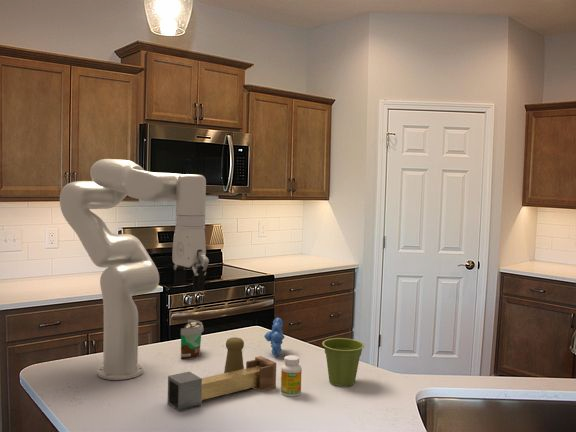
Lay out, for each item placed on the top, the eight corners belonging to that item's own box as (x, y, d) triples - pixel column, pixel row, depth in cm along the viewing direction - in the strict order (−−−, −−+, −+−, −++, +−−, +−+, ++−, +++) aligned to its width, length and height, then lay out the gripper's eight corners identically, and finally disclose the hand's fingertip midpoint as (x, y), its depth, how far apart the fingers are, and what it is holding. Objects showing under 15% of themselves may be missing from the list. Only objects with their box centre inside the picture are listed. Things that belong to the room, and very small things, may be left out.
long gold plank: (182, 398, 143) (182, 381, 143) (259, 379, 158) (259, 364, 158) (190, 403, 140) (190, 386, 140) (268, 384, 155) (268, 369, 155)
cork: (241, 380, 160) (242, 341, 160) (220, 378, 161) (221, 340, 161) (247, 373, 166) (247, 336, 166) (227, 371, 167) (228, 334, 167)
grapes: (265, 348, 191) (266, 313, 191) (285, 349, 191) (286, 314, 190) (261, 359, 180) (262, 322, 179) (282, 360, 179) (283, 323, 179)
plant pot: (312, 382, 160) (313, 343, 159) (338, 373, 169) (339, 335, 168) (346, 393, 152) (347, 352, 151) (371, 383, 161) (372, 344, 160)
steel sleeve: (167, 403, 142) (167, 375, 142) (188, 398, 146) (189, 371, 145) (179, 411, 137) (180, 383, 137) (201, 406, 141) (201, 378, 140)
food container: (199, 361, 176) (200, 329, 176) (180, 360, 176) (180, 328, 176) (206, 349, 189) (206, 320, 188) (187, 349, 189) (188, 319, 188)
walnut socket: (245, 383, 157) (246, 359, 157) (260, 380, 160) (260, 356, 160) (260, 391, 152) (261, 366, 151) (275, 387, 155) (276, 362, 154)
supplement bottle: (286, 398, 148) (287, 361, 147) (277, 391, 152) (278, 355, 152) (304, 395, 150) (305, 359, 150) (295, 388, 155) (295, 353, 154)
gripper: (162, 220, 151) (160, 283, 152) (194, 225, 137) (192, 294, 138) (187, 219, 155) (185, 281, 156) (220, 224, 142) (219, 291, 143)
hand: (189, 287), depth 147 cm, fingers open, 9 cm apart
